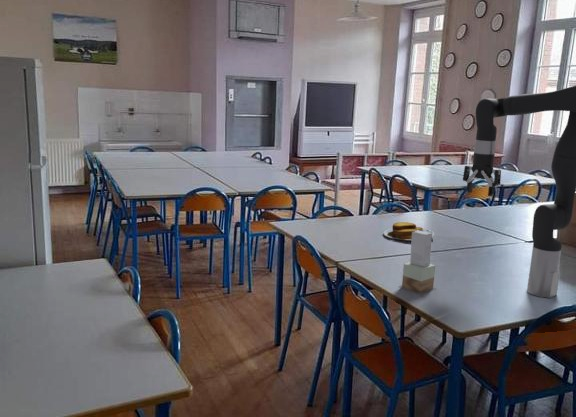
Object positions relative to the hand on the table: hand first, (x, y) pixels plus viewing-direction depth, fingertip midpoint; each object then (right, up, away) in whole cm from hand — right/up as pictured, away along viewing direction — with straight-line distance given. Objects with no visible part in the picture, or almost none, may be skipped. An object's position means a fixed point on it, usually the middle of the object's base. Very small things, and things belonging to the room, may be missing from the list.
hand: (479, 194), depth 206 cm
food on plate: (-13, -20, +64) cm, 68 cm away
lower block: (-26, -35, -10) cm, 45 cm away
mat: (-26, -35, -10) cm, 45 cm away
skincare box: (-26, -26, -11) cm, 38 cm away
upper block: (-26, -30, -11) cm, 41 cm away
